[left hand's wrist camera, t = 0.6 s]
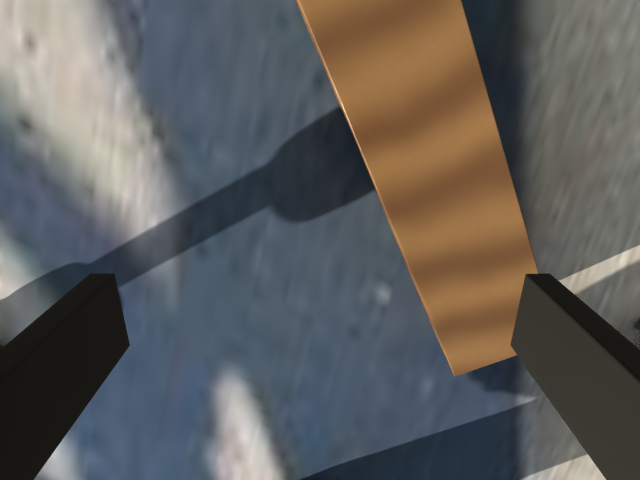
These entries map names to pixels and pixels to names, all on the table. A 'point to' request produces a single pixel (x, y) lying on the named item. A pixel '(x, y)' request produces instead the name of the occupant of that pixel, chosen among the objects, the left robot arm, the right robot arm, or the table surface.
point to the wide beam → (432, 162)
